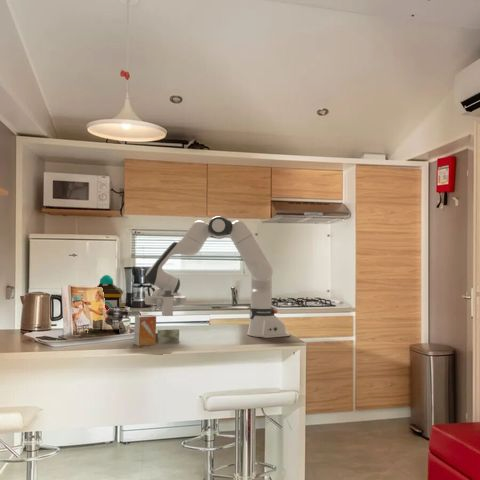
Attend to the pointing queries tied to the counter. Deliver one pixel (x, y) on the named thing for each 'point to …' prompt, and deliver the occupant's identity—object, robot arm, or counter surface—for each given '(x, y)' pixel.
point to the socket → (167, 336)
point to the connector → (167, 303)
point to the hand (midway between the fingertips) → (167, 301)
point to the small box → (145, 330)
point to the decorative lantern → (111, 292)
